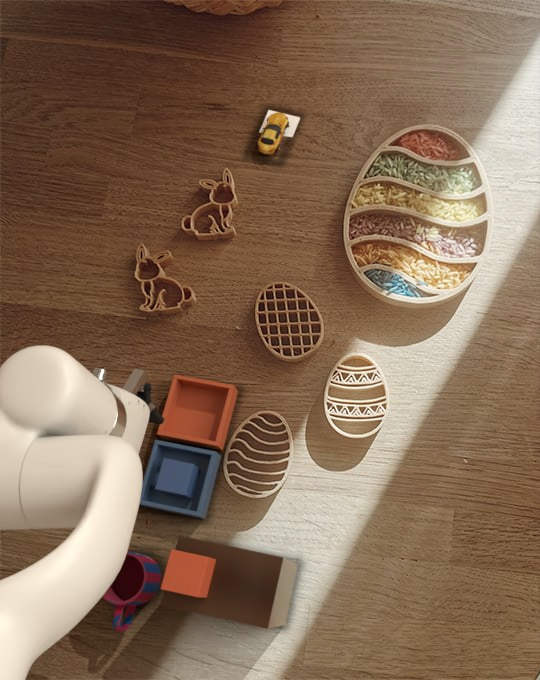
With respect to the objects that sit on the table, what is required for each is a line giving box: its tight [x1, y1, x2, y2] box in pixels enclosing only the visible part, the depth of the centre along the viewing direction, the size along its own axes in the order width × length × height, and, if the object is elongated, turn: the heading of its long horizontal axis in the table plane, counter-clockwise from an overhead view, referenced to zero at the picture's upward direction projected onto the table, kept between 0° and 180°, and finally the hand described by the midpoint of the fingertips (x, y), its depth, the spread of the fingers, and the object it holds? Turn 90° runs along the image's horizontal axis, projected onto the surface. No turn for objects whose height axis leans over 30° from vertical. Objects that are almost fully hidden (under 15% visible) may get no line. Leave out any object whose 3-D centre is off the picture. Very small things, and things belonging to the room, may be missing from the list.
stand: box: [160, 535, 299, 630], centre depth 93 cm, size 8×13×16 cm, turn 78°
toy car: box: [256, 109, 301, 156], centre depth 124 cm, size 4×8×2 cm, turn 162°
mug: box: [101, 551, 162, 633], centre depth 98 cm, size 7×10×7 cm
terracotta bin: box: [156, 374, 239, 452], centre depth 108 cm, size 9×9×4 cm
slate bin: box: [139, 439, 222, 520], centre depth 104 cm, size 9×9×4 cm
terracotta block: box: [160, 549, 216, 598], centre depth 84 cm, size 4×4×4 cm
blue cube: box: [155, 458, 201, 500], centre depth 104 cm, size 4×4×4 cm
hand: (140, 458), depth 87 cm, fingers open, 9 cm apart
